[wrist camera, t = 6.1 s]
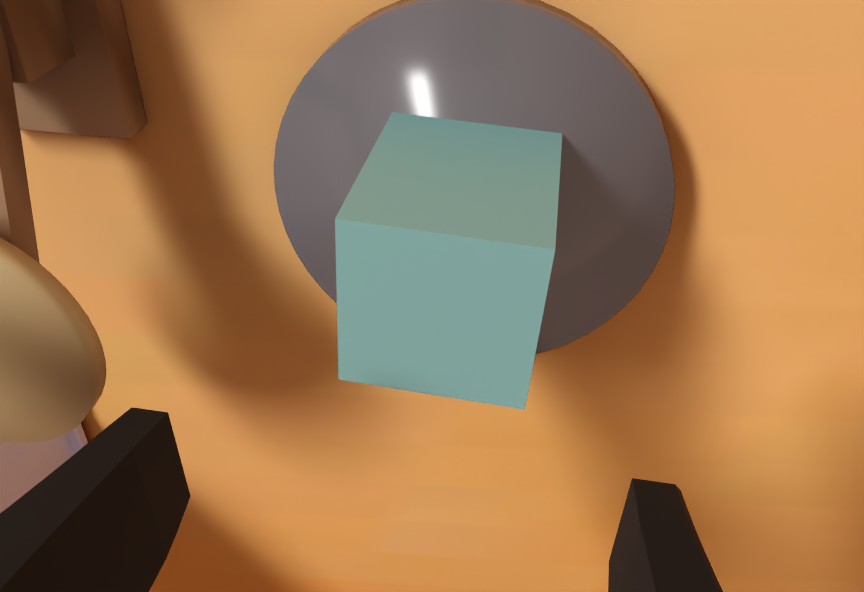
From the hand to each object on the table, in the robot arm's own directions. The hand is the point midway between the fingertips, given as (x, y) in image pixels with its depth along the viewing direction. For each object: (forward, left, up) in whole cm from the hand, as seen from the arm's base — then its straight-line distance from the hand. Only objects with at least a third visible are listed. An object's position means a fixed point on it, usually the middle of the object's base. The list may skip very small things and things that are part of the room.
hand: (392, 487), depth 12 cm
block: (0, 0, -9) cm, 9 cm away
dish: (0, 0, -10) cm, 10 cm away
